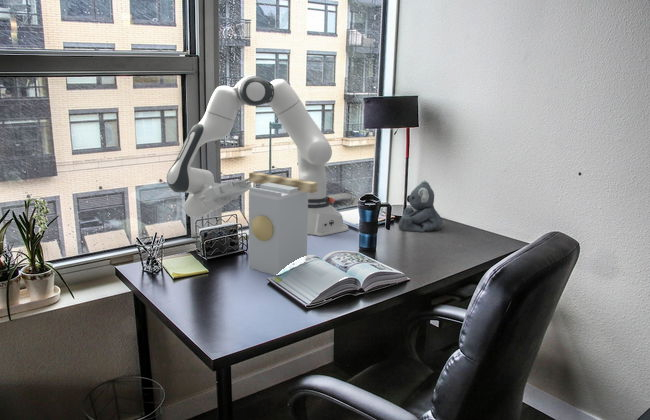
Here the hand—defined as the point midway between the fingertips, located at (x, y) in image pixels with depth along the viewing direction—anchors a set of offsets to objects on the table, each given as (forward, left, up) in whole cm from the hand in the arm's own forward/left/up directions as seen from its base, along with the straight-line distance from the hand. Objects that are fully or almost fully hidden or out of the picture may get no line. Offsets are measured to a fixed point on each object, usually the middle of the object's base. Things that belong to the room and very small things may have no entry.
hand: (241, 182), depth 189 cm
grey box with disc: (-6, +19, -25) cm, 32 cm away
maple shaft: (-9, +15, +1) cm, 18 cm away
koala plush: (-79, +1, -25) cm, 83 cm away
